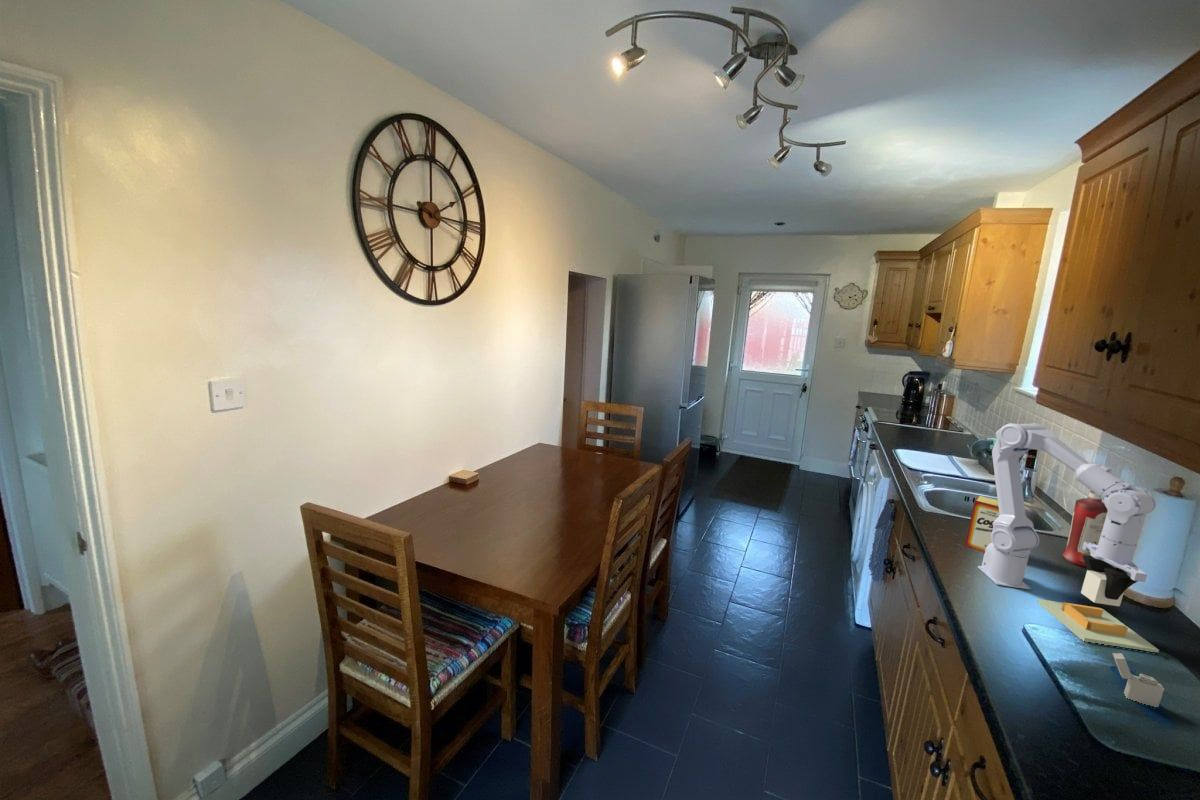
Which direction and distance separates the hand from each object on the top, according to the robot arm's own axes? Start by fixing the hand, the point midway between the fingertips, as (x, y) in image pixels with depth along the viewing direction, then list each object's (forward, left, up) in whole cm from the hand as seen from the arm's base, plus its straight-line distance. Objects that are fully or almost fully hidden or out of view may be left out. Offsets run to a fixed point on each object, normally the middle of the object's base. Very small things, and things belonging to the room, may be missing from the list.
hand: (1102, 592), depth 110 cm
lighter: (+24, -11, -9) cm, 28 cm away
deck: (0, 0, -9) cm, 9 cm away
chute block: (0, 0, -2) cm, 2 cm away
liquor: (-37, +21, -9) cm, 43 cm away
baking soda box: (-37, -3, -9) cm, 38 cm away
